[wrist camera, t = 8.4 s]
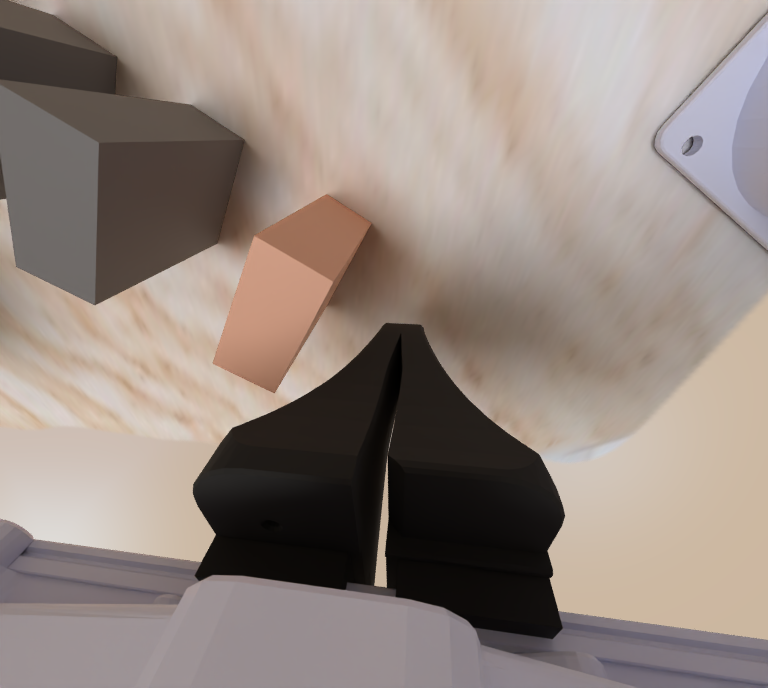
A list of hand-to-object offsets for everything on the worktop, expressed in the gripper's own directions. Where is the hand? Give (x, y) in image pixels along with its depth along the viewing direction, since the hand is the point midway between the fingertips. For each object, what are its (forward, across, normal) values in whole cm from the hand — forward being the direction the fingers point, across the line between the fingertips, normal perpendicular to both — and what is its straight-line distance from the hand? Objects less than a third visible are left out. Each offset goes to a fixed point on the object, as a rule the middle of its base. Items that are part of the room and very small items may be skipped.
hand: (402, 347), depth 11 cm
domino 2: (+3, +8, -5) cm, 10 cm away
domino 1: (+3, +4, -2) cm, 5 cm away
